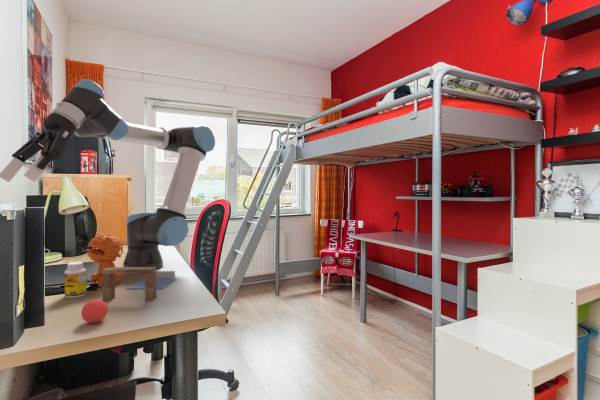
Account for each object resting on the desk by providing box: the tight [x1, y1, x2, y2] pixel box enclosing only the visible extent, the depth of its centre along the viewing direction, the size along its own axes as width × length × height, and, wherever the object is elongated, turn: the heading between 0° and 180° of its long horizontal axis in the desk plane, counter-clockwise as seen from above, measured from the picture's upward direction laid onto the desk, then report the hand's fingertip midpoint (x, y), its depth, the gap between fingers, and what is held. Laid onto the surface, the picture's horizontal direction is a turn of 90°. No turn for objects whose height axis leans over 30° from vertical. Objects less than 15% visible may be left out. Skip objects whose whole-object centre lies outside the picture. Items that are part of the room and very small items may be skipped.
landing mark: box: [125, 277, 177, 290], centre depth 112 cm, size 12×12×1 cm
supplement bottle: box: [64, 261, 88, 299], centre depth 99 cm, size 6×6×10 cm
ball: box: [81, 298, 109, 324], centre depth 79 cm, size 6×6×6 cm
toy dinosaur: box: [85, 233, 124, 288], centre depth 111 cm, size 11×11×18 cm
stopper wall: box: [156, 270, 176, 279], centre depth 119 cm, size 2×10×2 cm, turn 91°
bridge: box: [101, 266, 157, 302], centre depth 96 cm, size 3×14×9 cm, turn 91°
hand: (15, 178), depth 85 cm, fingers open, 13 cm apart
